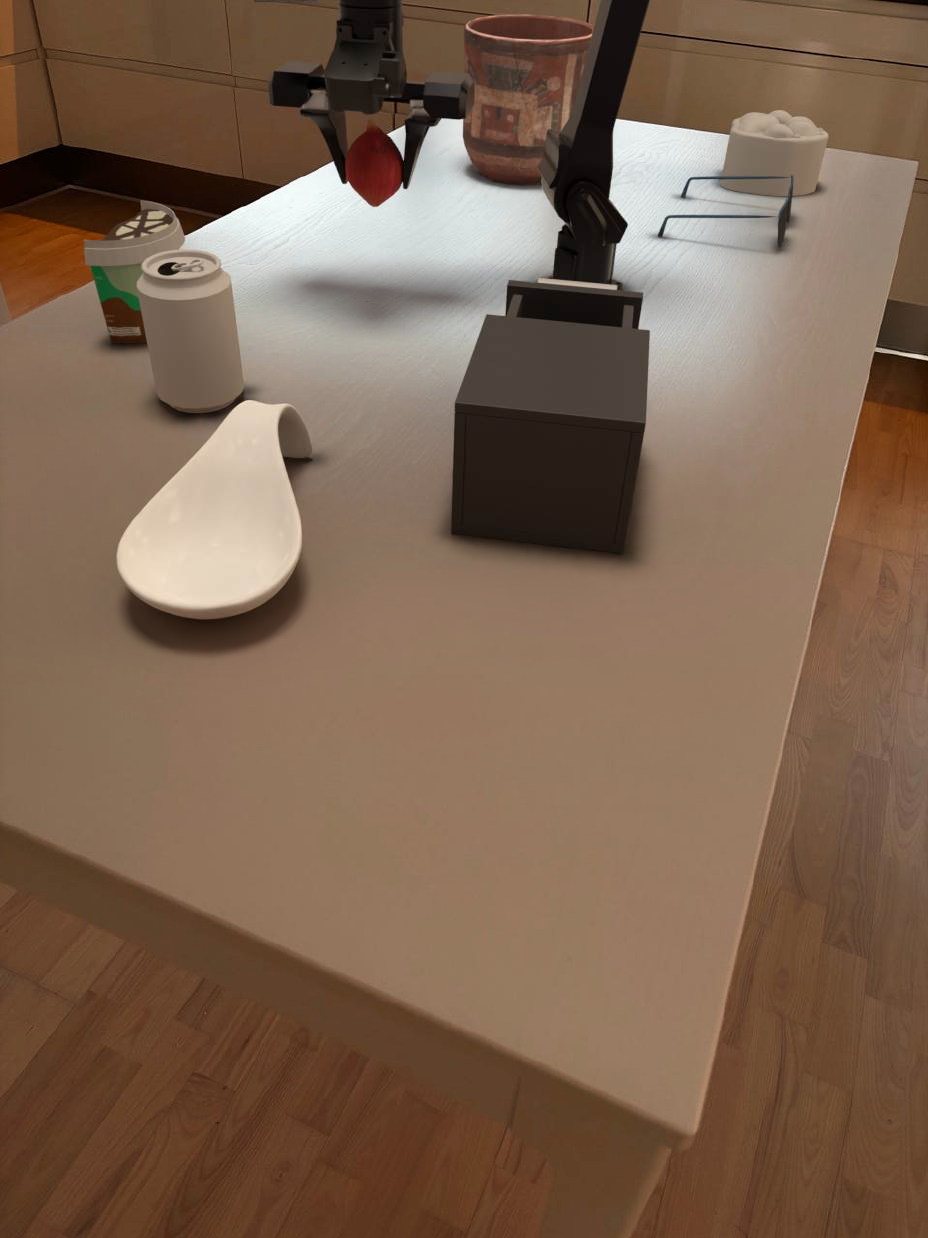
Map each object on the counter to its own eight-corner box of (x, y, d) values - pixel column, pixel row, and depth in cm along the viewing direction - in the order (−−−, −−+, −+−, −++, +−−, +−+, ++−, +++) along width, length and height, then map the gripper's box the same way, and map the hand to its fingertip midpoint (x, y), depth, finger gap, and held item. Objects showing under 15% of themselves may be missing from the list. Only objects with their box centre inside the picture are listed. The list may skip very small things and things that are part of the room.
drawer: (508, 354, 93) (514, 261, 87) (630, 366, 92) (644, 273, 86) (481, 449, 80) (486, 347, 74) (622, 465, 79) (639, 362, 73)
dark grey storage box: (480, 434, 83) (486, 313, 76) (630, 451, 82) (650, 329, 75) (450, 533, 72) (454, 401, 65) (623, 554, 71) (646, 422, 64)
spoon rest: (282, 655, 62) (272, 563, 57) (99, 639, 62) (73, 546, 58) (353, 459, 80) (349, 377, 75) (210, 447, 80) (197, 365, 76)
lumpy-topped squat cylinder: (723, 168, 144) (735, 103, 139) (814, 178, 142) (831, 112, 137) (718, 189, 137) (732, 121, 131) (815, 200, 134) (833, 131, 129)
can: (164, 377, 89) (140, 243, 82) (248, 376, 90) (233, 243, 82) (151, 418, 84) (124, 278, 76) (241, 417, 84) (224, 278, 76)
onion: (413, 201, 101) (412, 116, 96) (391, 219, 97) (390, 131, 92) (361, 194, 103) (358, 109, 98) (337, 211, 99) (333, 123, 93)
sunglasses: (779, 255, 118) (784, 212, 115) (656, 253, 122) (657, 211, 119) (792, 211, 130) (796, 171, 127) (680, 211, 135) (681, 172, 132)
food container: (165, 356, 92) (146, 249, 86) (103, 348, 93) (80, 241, 87) (216, 305, 102) (202, 204, 95) (160, 298, 103) (143, 198, 96)
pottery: (589, 194, 133) (606, 42, 121) (458, 189, 133) (463, 36, 121) (579, 156, 147) (593, 16, 135) (460, 152, 146) (465, 11, 135)
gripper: (239, 12, 84) (259, 203, 94) (457, 26, 82) (453, 220, 92) (280, -9, 92) (293, 168, 102) (478, 3, 90) (472, 183, 100)
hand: (375, 185), depth 99 cm, fingers closed on onion, 6 cm apart
